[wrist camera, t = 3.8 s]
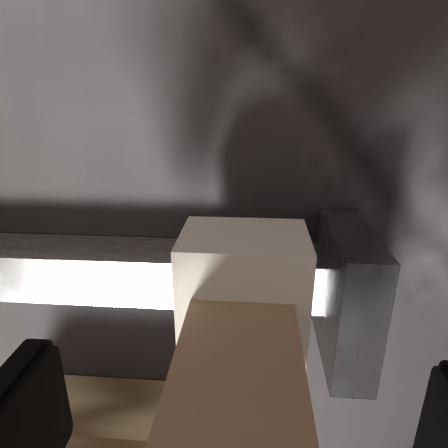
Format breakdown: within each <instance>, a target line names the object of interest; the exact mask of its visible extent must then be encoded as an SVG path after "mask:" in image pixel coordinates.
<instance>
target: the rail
mask: <svg viewBox="0 0 448 448" xmlns="http://www.w3.org/2000/svg"><path fill="white" fill-rule="evenodd" d="M177 239H178V238H156V237H123V236H90V235H57V234H24V233H0V302H19V303H41V304H63V305H85V306H108V307H130V308H152V309H174V303H173V285H172V267H171V250H172V248H173V247H174V245H175V243H176V241H177ZM312 244H313V247H314V250H315V253H316V256H317V262H316V273H315V284H314V294H313V305H312V315H311V316H312V321H313V325H314V329H315V334H316V338H317V342H318V347H319V351H320V355H321V360H322V364H323V368H324V373H325V377H326V381H327V385H328V390H329V394H330V397H336V398H352V399H369V400H376V398H377V392H378V387H379V381H380V376H381V370H382V365H383V359H384V354H385V348H386V343H387V337H388V332H389V326H390V321H391V315H392V310H393V304H394V299H395V293H396V288H397V282H398V276H399V271H400V264H399V263H398V261H397V260H396V259H395V257H394V256H393V255H392V254H391V252H390V251H389V250H388V248H387V247H386V246H385V245H384V243H383V242H382V241H381V240H380V238H379V237H378V236H377V234H376V233H375V232H374V231H373V229H372V228H371V227H370V225H369V224H368V223H367V222H366V220H365V219H364V218H363V216H362V215H361V214H360V213H359V211H358V210H342V209H320V216H319V226H318V237H317V242H312Z"/></svg>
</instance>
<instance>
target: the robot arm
mask: <svg viewBox="0 0 448 448" xmlns="http://www.w3.org/2000/svg"><path fill="white" fill-rule="evenodd" d="M72 430H73V420H72V414H71V409H70V404H69V399H68V393H67V388H66V383H65V378H64V372H63V367H62V362H61V357H60V351H59V348H58V347H57V346H54V345H53V342H52V341H51V340H47V339H26V340H25V341H23V342H22V344H21V345H20V346H19V347H18V348H17V349H16V350H15V351H14V352H13V354H12V355H11V356H10V357H9V358H8V359H7V360H6V361H5V363H4V364H3V365H2V366H1V367H0V448H65V447H66V445H67V443H68V441H69V439H70V437H71V434H72ZM413 448H448V360H443V361H441V362H440V363H439V366H434V367H433V368H432V370H431V374H430V378H429V382H428V386H427V391H426V395H425V399H424V403H423V407H422V411H421V416H420V420H419V424H418V428H417V432H416V436H415V440H414V445H413Z"/></svg>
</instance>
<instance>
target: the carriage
mask: <svg viewBox="0 0 448 448" xmlns="http://www.w3.org/2000/svg"><path fill="white" fill-rule="evenodd" d="M316 262H317V256H316V253H315V250H314V247H313V244H312V241H311V238H310V235H309V232H308V229H307V226H306V223H305V220H304V219H277V218H238V217H199V216H189V217H188V219H187V221H186V223H185V225H184V227H183V229H182V231H181V233H180V235H179V237H178V239H177V241H176V243H175V245H174V247H173V248H172V250H171V267H172V285H173V303H174V320H175V338H176V348H175V351H174V355H173V358H172V361H171V364H170V368H169V371H168V374H167V378H166V381H165V384H164V387H163V391H162V394H161V397H160V401H159V404H158V407H157V410H156V414H155V417H154V420H153V423H152V427H151V430H150V433H149V437H148V440H147V443H146V446H145V448H319V445H318V439H317V433H316V427H315V421H314V415H313V410H312V404H311V398H310V392H309V386H308V380H307V374H306V369H307V358H308V347H309V337H310V326H311V315H312V305H313V294H314V284H315V273H316Z"/></svg>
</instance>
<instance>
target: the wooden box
mask: <svg viewBox="0 0 448 448" xmlns="http://www.w3.org/2000/svg"><path fill="white" fill-rule="evenodd" d="M64 378H65V383H66V388H67V393H68V399H69V404H70V409H71V414H72V420H73V430H72V434H71V437H70V439H69V441H68V443H67V445H66V447H65V448H145V446H146V443H147V440H148V437H149V433H150V430H151V427H152V423H153V420H154V417H155V414H156V410H157V407H158V404H159V401H160V397H161V394H162V391H163V387H164V384H165V381H161V380H144V379H127V378H111V377H94V376H77V375H64Z"/></svg>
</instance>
